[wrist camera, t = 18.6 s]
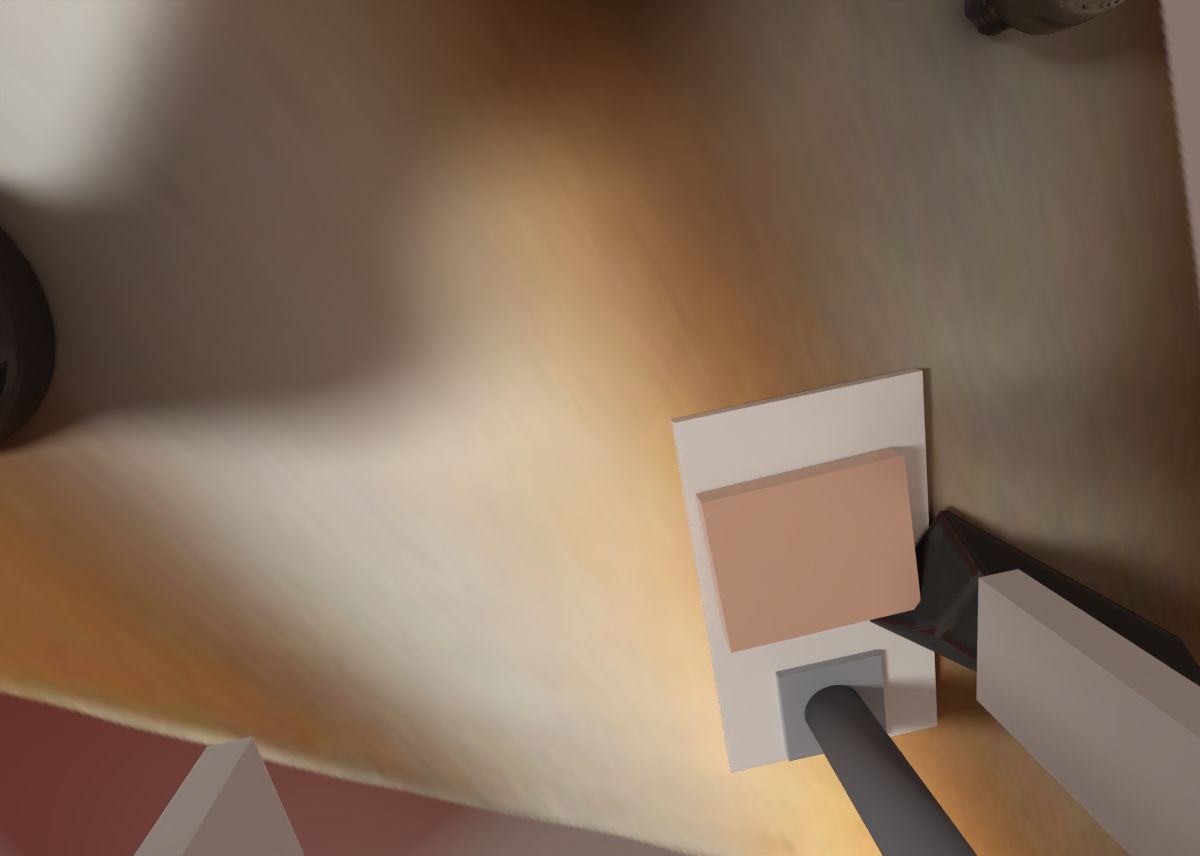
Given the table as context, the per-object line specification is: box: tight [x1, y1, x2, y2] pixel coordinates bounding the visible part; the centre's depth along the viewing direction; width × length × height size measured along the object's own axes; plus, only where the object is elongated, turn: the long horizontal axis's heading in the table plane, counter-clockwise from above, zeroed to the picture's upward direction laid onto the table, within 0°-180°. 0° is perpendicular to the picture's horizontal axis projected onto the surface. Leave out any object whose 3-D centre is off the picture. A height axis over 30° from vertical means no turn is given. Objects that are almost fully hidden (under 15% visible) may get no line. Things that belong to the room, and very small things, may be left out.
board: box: [671, 368, 937, 772], centre depth 38 cm, size 15×26×1 cm, turn 11°
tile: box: [696, 448, 921, 653], centre depth 36 cm, size 12×2×10 cm
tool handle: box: [805, 685, 977, 856], centre depth 34 cm, size 4×4×12 cm
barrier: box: [870, 511, 1200, 687], centre depth 36 cm, size 24×9×10 cm, turn 61°
